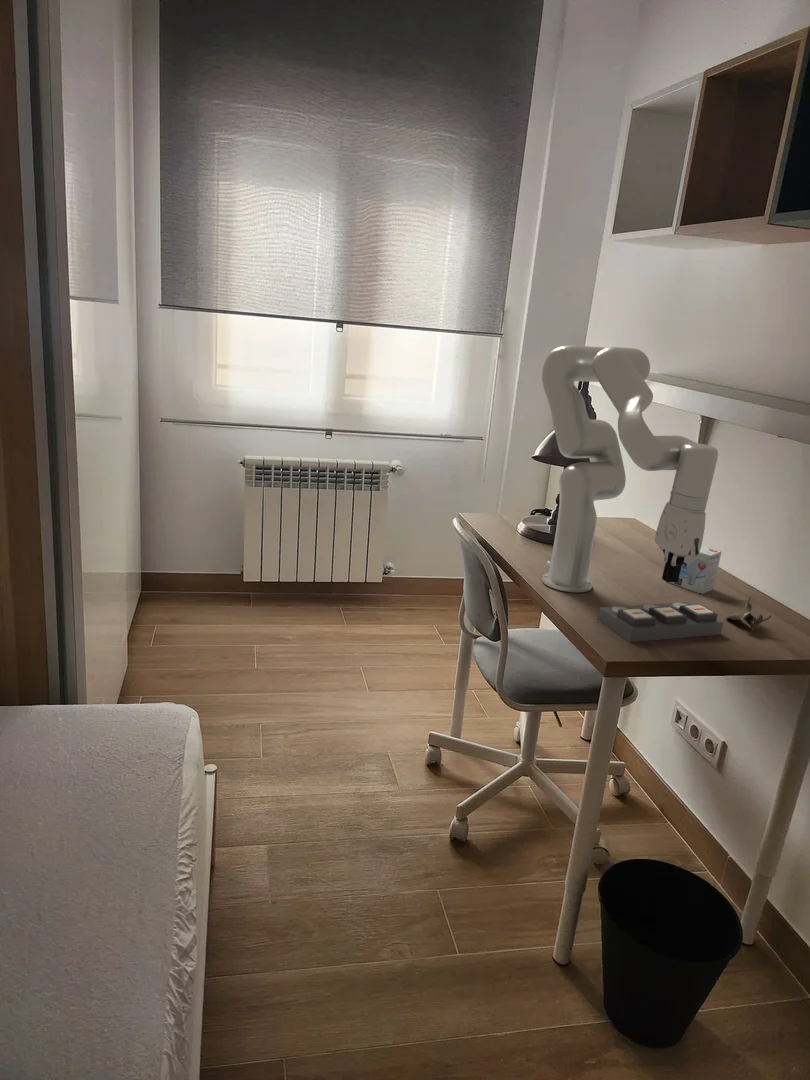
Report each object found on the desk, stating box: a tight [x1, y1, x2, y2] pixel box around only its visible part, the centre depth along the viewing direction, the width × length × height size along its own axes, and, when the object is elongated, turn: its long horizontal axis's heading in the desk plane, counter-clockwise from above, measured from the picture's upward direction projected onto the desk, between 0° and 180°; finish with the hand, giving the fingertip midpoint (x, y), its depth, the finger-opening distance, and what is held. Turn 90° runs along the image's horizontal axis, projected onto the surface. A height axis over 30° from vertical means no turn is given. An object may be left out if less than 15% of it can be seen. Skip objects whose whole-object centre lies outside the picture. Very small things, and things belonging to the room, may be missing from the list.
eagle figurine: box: [725, 595, 773, 633], centre depth 182 cm, size 8×7×9 cm
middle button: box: [654, 607, 683, 617], centre depth 173 cm, size 4×4×2 cm
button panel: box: [597, 601, 724, 643], centre depth 176 cm, size 12×25×5 cm, turn 111°
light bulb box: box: [668, 545, 722, 595], centre depth 205 cm, size 11×7×11 cm, turn 45°
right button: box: [685, 604, 714, 615], centre depth 177 cm, size 4×4×2 cm
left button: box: [623, 609, 652, 619], centre depth 170 cm, size 4×4×2 cm
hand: (669, 580), depth 172 cm, fingers closed
